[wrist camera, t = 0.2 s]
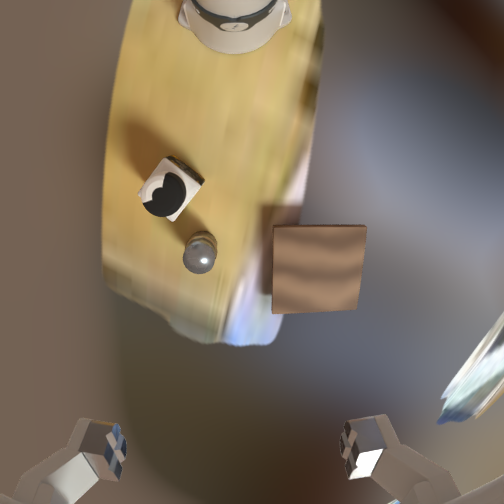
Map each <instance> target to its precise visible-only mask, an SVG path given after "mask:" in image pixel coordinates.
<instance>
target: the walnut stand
mask: <svg viewBox="0 0 504 504" xmlns="http://www.w3.org/2000/svg"><path fill="white" fill-rule="evenodd" d="M366 233H367V227H366V226H365V225H273V266H272V314H287V313H307V312H325V311H341V310H354V309H357V303H358V297H359V290H360V282H361V276H362V268H363V260H364V250H365V242H366Z"/></svg>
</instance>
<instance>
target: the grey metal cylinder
mask: <svg viewBox="0 0 504 504" xmlns="http://www.w3.org/2000/svg"><path fill="white" fill-rule="evenodd" d="M216 256H217V241H216V239H215V237H214V236H213V235H212V234H211V233H209V232H206V231H199V232H196V233H195V234H193V235H192V236H191V238H190V240H189V241H188V242H187V244H186V246H185V252H184V254H183V262H184V265H185V267H186V268H187V269H188V270H189V271H191V272H193V273H195V274H203V273H206V272H208V271H209V270H211V268H212V267H213V265H214V261H215V259H216Z"/></svg>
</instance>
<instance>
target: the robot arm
mask: <svg viewBox="0 0 504 504" xmlns="http://www.w3.org/2000/svg"><path fill="white" fill-rule="evenodd" d="M284 12H285V13H284ZM291 19H292V15H291V12H290V8H289V4H288V1H287V0H183V3H182V6H181V10H180V13H179V17H178V22H179V24H180V25H181V26H183V27H185V28H187V29H189V30H191V31H192V32H193V33H194V34H195V35H196V36H197V37H198V39H199V40H200V41H201V42H202V43H203V44H204V45H206V46H207V47H209V48H211V49H213V50H215V51H218V52H222V53H227V54H241V53H246V52H250V51H253V50H255V49H257V48H259V47H261V46H262V45H264V44H265V43H266V42H267V41H269V39H270V38H271V37H272V36H273V35H274V33H275V32H276V31H277V30H278V29H280V28H282V27H284V26H286V25H288V24H289V23H290V22H291ZM344 430H345V432H344V433H342V434H341V438H340V450H341V454H342V457H343V458H345V459H346V460H347V462H346V464H345V468H346V471H347V475H348V478H349V479H355V478H361V477H366V476H370V477H371V478H372V479H374V480H375V481H376V482H377V483H378V484H379V485H381V486H382V487H383V488H384V489H385V490H386V491H388V492H389V493H390V494H391V495H392V496H394V497H395V498H396V499H397V500H398V501H400V502H401V503H400V504H504V474H503V475H502V476H500V477H498V478H496V479H494V480H492V481H491V482H489V483H487V484H485V485H483V486H481V487H479V488H477V489H475V490H473V491H470V492H469V493H466V494H464V495H462V496H461V494H460V492H459V490H458V488H457V486H456V484H455V482H454V480H453V478H452V476H451V474H450V473H449V471H447V470H446V469H444V468H442V467H441V466H439V465H437V464H435V463H434V462H432V461H430V460H429V459H427V458H425V457H424V456H422V455H420V454H419V453H417V452H416V451H414V450H412V449H411V448H409V447H407V446H406V445H401V444H400V443H399V440H398V438H397V436H396V434H395V432H394V429H393V428H392V425H391V423H390V421H389V419H388V417H387V415H385V414H382V415H378V416H373V417H371V416H370V417H365V418H360V419H354V420H348V421H346V422H345V424H344ZM120 431H121V429H120V427H119V425H118V424H115V423H109V422H103V421H97V420H92V419H86V418H80V419H79V420H78V422H77V424H76V426H75V428H74V431H73V433H72V435H71V437H70V440H69V442H68V445H67V447H66V448H62V449H60V450H59V451H57V452H56V453H54V454H53V455H51V456H50V457H49V458H47V459H45V460H44V461H42V462H41V463H39V464H38V465H36V466H35V467H33V468H31V469H30V470H29V471H27V472H25V473H24V474H22V476H21V478H20V480H19V483H18V485H17V487H16V490H15V492H14V494H13V497H12V498H10V497H7V496H5V495H3V494H1V493H0V504H73V503H75V502H76V501H77V500H78V499H79V498H80V497H81V496H82V495H83V494H84V493H85V492H86V491H87V490H88V489H90V488H91V486H93V485H94V484H95V483H96V482H97V481H98V480H99V478H101V479H106V480H112V481H119V480H120V477H121V473H122V466H121V464H120V463H121V462H122V461H123V460H125V458H126V454H127V444H126V440H125V438H124V436H122V435H121V434H120Z"/></svg>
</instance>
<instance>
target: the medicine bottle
mask: <svg viewBox="0 0 504 504" xmlns="http://www.w3.org/2000/svg"><path fill="white" fill-rule="evenodd" d="M204 182H205V179H204V178H202V177H201V176H200V175H199V174H197V173H196V172H195V171H194V170H192V169H191V168H190V167H188V166H187V165H186V164H185V163H183V162H182V161H181V160H180V159H178V158H177V157H176V156H174V155H171V156H168V157H165V158H163V159H162V160H161V162H160V163H159V164H158V166H157V167H156V168H155V170H154V171H153V173H152V174H151V175H150V177H149V178H148V179H147V180H146V182H145V183H144V185H143V186H142V188H141V189H140V191H139V192H138V196H140V197H141V200H142V203H143V205H144V207H145V208H146V210H147V211H148V212H150V213H151V214H153V215H155V216H158V217H166V218H168V219H169V220H170V221H172V222H173V221H175V219H176V218H177V217H178V216H179V214H180V213H181V212H182V210H183V209H184V208H185V207H186V205H187V204H188V203H189V201H190V200H191V199H192V198H193V196H194V195H195V194H196V193H197V191H198V190H199V189H200V188H201V186H202V185H203V183H204Z"/></svg>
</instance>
